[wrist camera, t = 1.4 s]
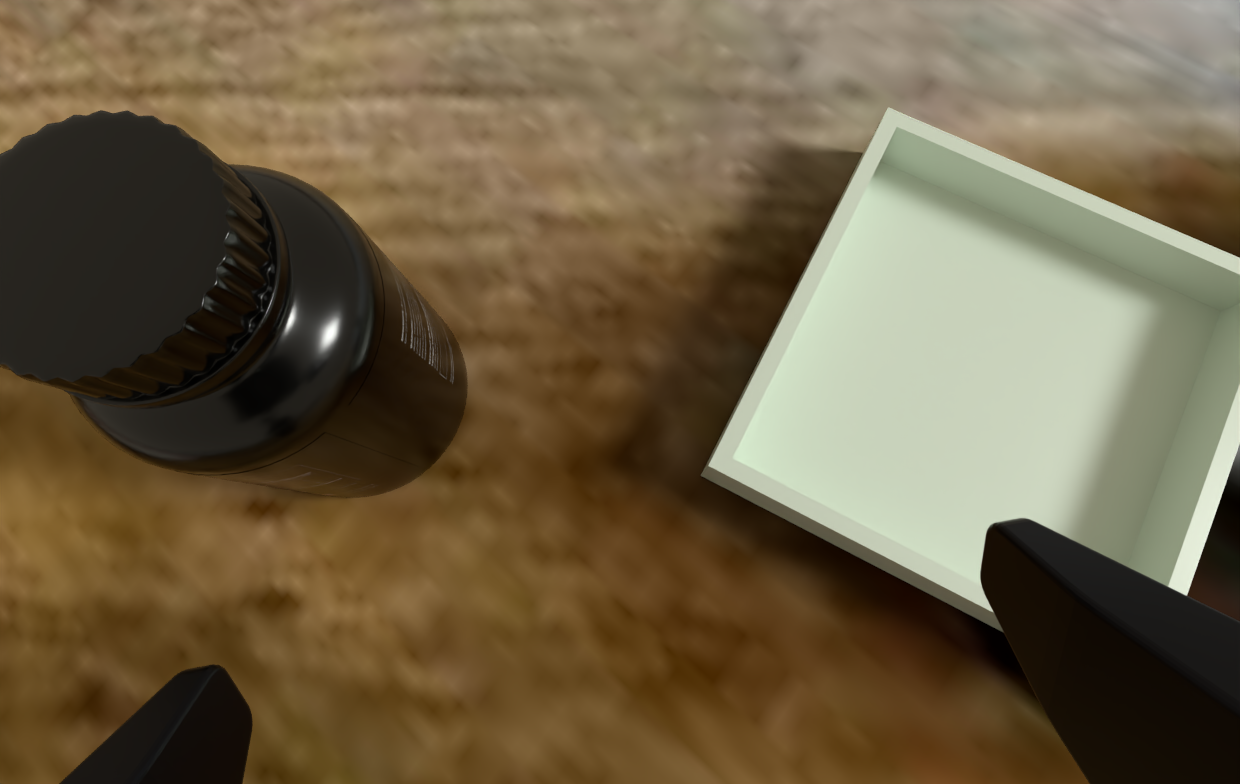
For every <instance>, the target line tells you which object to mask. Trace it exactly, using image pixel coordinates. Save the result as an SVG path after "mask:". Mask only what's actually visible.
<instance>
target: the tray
mask: <svg viewBox="0 0 1240 784" xmlns="http://www.w3.org/2000/svg"><path fill="white" fill-rule="evenodd" d="M1239 444H1240V258H1239V257H1236V256H1234V255H1232V254H1229V253H1227V252H1225V251H1222V250H1220V249H1218V248H1215V247H1213V246H1211V245H1208V244H1206V243H1204V242H1201V241H1199V240H1197V239H1194V238H1192V237H1190V236H1187V235H1185V234H1183V233H1180V232H1178V231H1176V230H1173V229H1171V228H1169V227H1166V226H1164V225H1162V224H1159V223H1157V222H1155V221H1152V220H1150V219H1147V218H1145V217H1143V216H1140V215H1138V214H1136V213H1133V212H1131V211H1129V210H1126V209H1124V208H1122V207H1119V206H1117V205H1115V204H1112V203H1110V202H1108V201H1105V200H1103V199H1101V198H1098V197H1096V196H1094V195H1091V194H1089V193H1087V192H1084V191H1082V190H1080V189H1077V188H1075V187H1073V186H1070V185H1068V184H1066V183H1063V182H1061V181H1059V180H1056V179H1054V178H1052V177H1049V176H1047V175H1045V174H1042V173H1040V172H1038V171H1035V170H1033V169H1031V168H1028V167H1026V166H1024V165H1021V164H1019V163H1017V162H1014V161H1012V160H1010V159H1007V158H1005V157H1003V156H1000V155H998V154H996V153H993V152H991V151H989V150H986V149H984V148H982V147H979V146H977V145H975V144H972V143H970V142H968V141H965V140H963V139H961V138H958V137H956V136H954V135H951V134H949V133H947V132H944V131H942V130H940V129H937V128H935V127H933V126H930V125H928V124H926V123H923V122H921V121H919V120H916V119H914V118H912V117H909V116H907V115H905V114H902V113H900V112H898V111H895V110H893V109H891V108H888V109H887V111H886V112H885V114H884V116H883V118H882V120H881V121H880V123H879V125H878V127H877V129H876V130H875V132H874V134H873V136H872V138H871V139H870V141H869V143H868V145H867V147H866V148H865V150H864V152H863V154H862V156H861V158H860V160H859V162H858V164H857V166H856V168H855V170H854V172H853V174H852V176H851V178H850V180H849V182H848V184H847V186H846V188H845V190H844V192H843V194H842V196H841V198H840V200H839V202H838V204H837V206H836V208H835V210H834V212H833V214H832V216H831V218H830V220H829V222H828V224H827V226H826V228H825V230H824V232H823V234H822V236H821V238H820V240H819V242H818V243H817V245H816V247H815V249H814V251H813V253H812V255H811V257H810V259H809V261H808V263H807V265H806V267H805V269H804V271H803V273H802V275H801V277H800V279H799V281H798V283H797V285H796V287H795V289H794V291H793V293H792V295H791V297H790V299H789V301H788V303H787V305H786V307H785V309H784V311H783V313H782V315H781V317H780V319H779V321H778V323H777V325H776V327H775V329H774V331H773V333H772V335H771V337H770V339H769V341H768V343H767V345H766V347H765V349H764V351H763V353H762V355H761V357H760V359H759V361H758V363H757V365H756V367H755V369H754V371H753V373H752V375H751V377H750V379H749V381H748V383H747V385H746V387H745V389H744V391H743V393H742V395H741V397H740V398H739V400H738V402H737V404H736V406H735V408H734V410H733V412H732V414H731V416H730V418H729V420H728V422H727V424H726V426H725V428H724V430H723V432H722V434H721V436H720V438H719V440H718V442H717V444H716V446H715V448H714V450H713V452H712V454H711V456H710V458H709V460H708V462H707V464H706V466H705V468H704V470H703V472H702V474H701V476H702V477H704V478H706V479H708V480H710V481H712V482H714V483H716V484H718V485H720V486H721V487H723V488H725V489H727V490H729V491H731V492H733V493H735V494H737V495H739V496H741V497H743V498H745V499H747V500H749V501H750V502H752V503H754V504H756V505H758V506H760V507H762V508H764V509H766V510H768V511H770V512H772V513H774V514H776V515H778V516H779V517H781V518H783V519H785V520H787V521H789V522H791V523H793V524H795V525H797V526H799V527H801V528H803V529H805V530H806V531H808V532H810V533H812V534H814V535H816V536H818V537H820V538H822V539H824V540H826V541H828V542H830V543H832V544H834V545H835V546H837V547H839V548H841V549H843V550H845V551H847V552H849V553H851V554H853V555H855V556H857V557H859V558H861V559H863V560H864V561H866V562H868V563H870V564H872V565H874V566H876V567H878V568H880V569H882V570H884V571H886V572H888V573H890V574H891V575H893V576H895V577H897V578H899V579H901V580H903V581H905V582H907V583H909V584H911V585H913V586H915V587H917V588H919V589H920V590H922V591H924V592H926V593H928V594H930V595H932V596H934V597H936V598H938V599H940V600H942V601H944V602H946V603H947V604H949V605H951V606H953V607H955V608H957V609H959V610H961V611H963V612H965V613H967V614H969V615H971V616H973V617H975V618H976V619H978V620H980V621H982V622H984V623H986V624H988V625H990V626H992V627H994V628H996V629H998V630H1000V631H1002V632H1003V630H1002V628H1001V626H1000V624H999V622H998V620H997V618H996V616H995V614H994V612H993V610H992V608H991V606H990V604H989V602H988V600H987V598H986V596H985V594H984V592H983V589H982V585H981V580H980V570H981V564H982V557H983V550H984V543H985V537H986V532H987V529H988V527H989V526H990V525H991V524H993V523H995V522H1000V521H1006V520H1011V519H1017V518H1027V519H1030V520H1033V521H1035V522H1037V523H1039V524H1041V525H1043V526H1045V527H1047V528H1049V529H1052V530H1054V531H1056V532H1058V533H1060V534H1062V535H1064V536H1066V537H1068V538H1070V539H1072V540H1074V541H1076V542H1078V543H1080V544H1082V545H1084V546H1086V547H1088V548H1090V549H1092V550H1094V551H1096V552H1099V553H1101V554H1103V555H1105V556H1107V557H1109V558H1111V559H1113V560H1115V561H1117V562H1119V563H1121V564H1123V565H1125V566H1127V567H1129V568H1131V569H1133V570H1135V571H1137V572H1139V573H1141V574H1143V575H1145V576H1148V577H1150V578H1152V579H1154V580H1156V581H1158V582H1160V583H1162V584H1164V585H1166V586H1168V587H1170V588H1172V589H1174V590H1176V591H1178V592H1180V593H1182V594H1184V595H1186V596H1187V594H1188V591H1189V588H1190V585H1191V582H1192V579H1193V576H1194V573H1195V571H1196V568H1197V565H1198V562H1199V559H1200V556H1201V553H1202V550H1203V548H1204V545H1205V542H1206V539H1207V536H1208V533H1209V530H1210V527H1211V524H1212V522H1213V519H1214V516H1215V513H1216V510H1217V507H1218V504H1219V501H1220V499H1221V496H1222V493H1223V490H1224V487H1225V484H1226V481H1227V478H1228V476H1229V473H1230V470H1231V467H1232V464H1233V461H1234V458H1235V455H1236V452H1237V450H1238V447H1239Z"/></svg>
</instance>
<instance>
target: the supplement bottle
mask: <svg viewBox="0 0 1240 784" xmlns="http://www.w3.org/2000/svg"><path fill="white" fill-rule="evenodd" d="M0 367H2V368H5V369H8V370H12V371H13V372H14V373H15V374H16V375H18V376H20V377H21V378H24V379H26V380H29V381H33V382H37V383H40V384H44V385H48V386H51V387H55V388H59V389H62V390H64V391H66V392H68V393H69V395H70V397H71V399H72V401H73V402H74V404H75V405H76V407H77V408H78V410H79V411H80V413H81V414H82V415H83V416H84V418H85V419H86V420H87V421H88V422H89V423H90V425H91V426H92V427H93V428H94V429H95V430H96V431H97V432H98V433H100V434H101V435H102V436H103V437H104V438H105V439H106V440H107V441H109V442H110V443H112V444H113V445H114V446H116V447H117V448H119V449H120V450H122V451H124V452H126V453H127V454H129V455H131V456H133V457H134V458H137V459H139V460H141V461H144V462H146V463H149V464H152V465H155V466H159V467H162V468H165V469H169V470H174V471H178V472H183V473H188V474H193V475H199V476H205V477H212V478H218V479H224V480H231V481H237V482H243V483H250V484H256V485H262V486H268V487H275V488H281V489H287V490H294V491H300V492H306V493H313V494H319V495H326V496H335V497H346V498H351V497H367V496H374V495H378V494H383V493H386V492H389V491H392V490H394V489H397V488H399V487H401V486H403V485H405V484H407V483H409V482H411V481H412V480H414V479H415V478H417V477H418V476H420V475H421V474H423V473H424V472H425V471H426V470H427V469H429V468H430V467H431V466H432V465H433V464H434V463H435V462H436V461H437V460H438V459H439V458H440V456H441V455H442V454H443V453H444V452H445V450H446V449H447V447H448V446H449V445H450V443H451V441H452V440H453V438H454V436H455V434H456V432H457V430H458V428H459V425H460V423H461V420H462V417H463V414H464V409H465V405H466V398H467V372H466V366H465V362H464V358H463V354H462V352H461V349H460V347H459V344H458V342H457V341H456V339H455V337H454V335H453V333H452V332H451V330H450V329H449V327H448V326H447V325H446V323H445V322H444V321H443V320H442V318H441V317H440V316H439V315H438V314H437V312H436V311H435V310H434V309H433V308H432V306H431V305H430V304H429V303H428V302H427V301H426V300H425V299H424V298H423V296H422V295H421V294H420V293H419V292H418V291H417V290H416V289H415V288H414V286H413V285H412V284H411V283H410V282H409V281H408V280H407V279H406V278H405V276H404V275H403V274H402V273H401V272H400V271H399V270H398V269H397V268H396V266H395V265H394V264H393V263H392V262H391V261H390V260H389V259H388V258H387V256H386V255H385V254H384V253H383V252H382V251H381V250H380V249H379V248H378V246H377V245H376V244H375V243H374V242H373V241H372V240H371V239H370V238H369V236H368V235H367V234H366V233H365V232H364V231H363V230H362V229H361V228H360V226H359V225H358V224H357V223H356V222H355V221H354V220H353V219H352V218H351V217H350V216H349V215H348V214H347V213H346V212H345V211H344V210H343V209H342V208H341V207H340V206H339V205H338V204H336V203H335V202H334V201H333V200H332V199H330V198H329V197H328V196H327V195H325V194H324V193H323V192H321V191H320V190H318V189H317V188H315V187H313V186H312V185H310V184H308V183H306V182H304V181H302V180H300V179H298V178H296V177H293V176H290V175H288V174H285V173H282V172H278V171H275V170H271V169H267V168H262V167H255V166H249V165H234V164H226V163H225V162H223V161H222V160H220V159H219V158H218V157H217V156H216V155H215V154H214V153H213V152H212V151H211V150H209V149H208V148H207V147H206V146H205V145H204V144H202V143H201V142H199V141H197V140H195V139H193V138H192V137H191V136H190V135H189V134H187V133H186V132H185V131H184V130H183V129H181V128H179V127H177V126H175V125H170V124H164V123H163V122H162V121H161V120H159V119H158V118H156V117H154V116H137V115H135V114H134V113H132V112H129V111H123V112H118V113H110V112H106V111H101V110H100V111H98V112H95V113H92V114H90V115H87V116H82V115H73V116H71V117H69V118H67V119H66V120H64V121H62V122H59V123H51V124H47V125H46V126H44V127H43V128H42V129H40V130H39V131H38V132H37V133H35V134H32V135H28V136H25V137H23V138H21V139H20V141H19V142H18V143H17V144H16V145H15V146H14V147H13V148H12V149H10V150H8V151H6V152H4V153H2V154H0Z"/></svg>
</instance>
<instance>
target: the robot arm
mask: <svg viewBox="0 0 1240 784" xmlns="http://www.w3.org/2000/svg"><path fill="white" fill-rule="evenodd" d="M980 580H981V585H982V589H983V592H984V594H985V596H986V598H987V600H988V602H989V604H990V606H991V608H992V610H993V612H994V614H995V616H996V618H997V620H998V622H999V624H1000V626H1001V628H1002V630H1003V632H1004V634H1005V636H1006V638H1007V640H1008V642H1009V644H1010V646H1011V648H1012V650H1013V652H1014V654H1015V655H1016V657H1017V659H1018V661H1019V663H1020V665H1021V667H1022V669H1023V671H1024V673H1025V675H1026V677H1027V679H1028V681H1029V683H1030V685H1031V687H1032V689H1033V691H1034V693H1035V695H1036V697H1037V699H1038V700H1039V702H1040V704H1041V706H1042V708H1043V710H1044V712H1045V713H1046V715H1047V717H1048V719H1049V720H1050V722H1051V723H1052V725H1053V727H1054V728H1055V730H1056V732H1057V733H1058V735H1059V737H1060V738H1061V740H1062V741H1063V743H1064V744H1065V746H1066V747H1067V749H1068V751H1069V752H1070V754H1071V755H1072V757H1073V758H1074V760H1075V761H1076V763H1077V765H1078V766H1079V768H1080V769H1081V771H1082V772H1083V774H1084V776H1085V777H1086V779H1087V780H1088V782H1089V783H1090V784H1240V622H1239V621H1237V620H1235V619H1233V618H1231V617H1229V616H1227V615H1225V614H1223V613H1221V612H1219V611H1217V610H1215V609H1213V608H1211V607H1209V606H1207V605H1205V604H1203V603H1201V602H1199V601H1197V600H1195V599H1192V598H1190V597H1188V596H1186V595H1184V594H1182V593H1180V592H1178V591H1176V590H1174V589H1172V588H1170V587H1168V586H1166V585H1164V584H1162V583H1160V582H1158V581H1156V580H1154V579H1152V578H1150V577H1148V576H1145V575H1143V574H1141V573H1139V572H1137V571H1135V570H1133V569H1131V568H1129V567H1127V566H1125V565H1123V564H1121V563H1119V562H1117V561H1115V560H1113V559H1111V558H1109V557H1107V556H1105V555H1103V554H1101V553H1099V552H1096V551H1094V550H1092V549H1090V548H1088V547H1086V546H1084V545H1082V544H1080V543H1078V542H1076V541H1074V540H1072V539H1070V538H1068V537H1066V536H1064V535H1062V534H1060V533H1058V532H1056V531H1054V530H1052V529H1049V528H1047V527H1045V526H1043V525H1041V524H1039V523H1037V522H1035V521H1033V520H1030V519H1027V518H1017V519H1011V520H1006V521H1000V522H995V523H993V524H991V525H990V526H989V527H988V529H987V532H986V537H985V543H984V550H983V557H982V564H981V570H980ZM251 733H252V714H251V711H250V708H249V706H248V704H247V702H246V701H245V699H244V698H243V696H242V694H241V693H240V691H239V690H238V688H237V686H236V685H235V683H234V682H233V680H232V679H231V677H230V675H229V674H228V672H227V671H226V670H225V668H223V667H221V666H220V665H214V664H213V665H208V666H202V667H197V668H191V669H186V670H184V671H181V672H180V673H178V674H177V675H175V676H174V677H173V678H172V679H171V680H170V681H169V682H168V683H167V684H165V685H164V686H163V687H162V688H161V689H160V690H159V691H158V692H157V693H156V694H155V695H154V696H153V697H152V698H151V699H149V700H148V701H147V702H146V703H145V704H144V705H143V706H142V707H141V708H140V709H139V710H138V711H137V712H136V713H134V714H133V715H132V716H131V717H130V718H129V719H128V720H127V721H126V722H125V723H124V724H123V725H122V726H121V727H119V728H118V729H117V730H116V731H115V732H114V733H113V734H112V735H111V736H110V737H109V738H108V739H107V740H106V741H104V742H103V743H102V744H101V745H100V746H99V747H98V748H97V749H96V750H95V751H94V752H93V753H92V754H91V755H89V756H88V757H87V758H86V759H85V760H84V761H83V762H82V763H81V764H80V765H79V766H78V767H77V768H76V769H74V770H73V771H72V772H71V773H70V774H69V775H68V776H67V777H66V778H65V779H64V780H63V781H62V782H61V783H59V784H242V783H243V777H244V772H245V766H246V761H247V755H248V750H249V744H250V738H251Z"/></svg>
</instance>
